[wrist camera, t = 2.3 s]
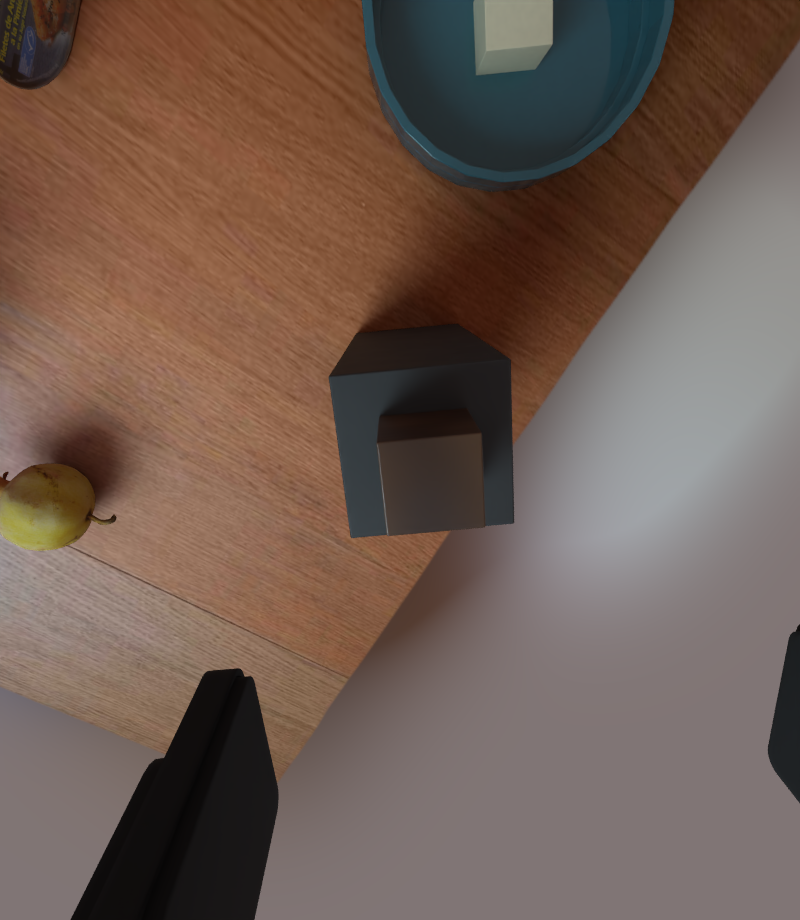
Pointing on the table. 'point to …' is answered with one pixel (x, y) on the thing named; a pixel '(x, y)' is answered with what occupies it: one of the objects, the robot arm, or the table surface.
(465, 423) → the walnut block
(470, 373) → the stand
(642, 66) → the bowl
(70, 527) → the fruit
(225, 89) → the table surface
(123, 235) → the table surface
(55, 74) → the tin
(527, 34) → the cream block
